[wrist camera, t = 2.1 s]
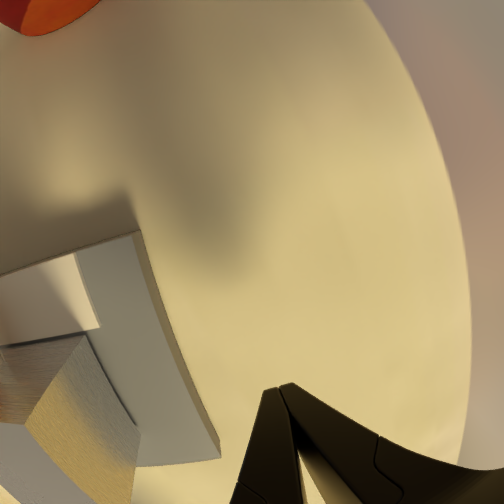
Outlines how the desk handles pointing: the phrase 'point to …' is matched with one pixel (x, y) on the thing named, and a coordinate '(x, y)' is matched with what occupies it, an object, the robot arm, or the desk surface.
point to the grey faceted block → (63, 427)
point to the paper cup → (41, 14)
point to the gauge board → (115, 339)
